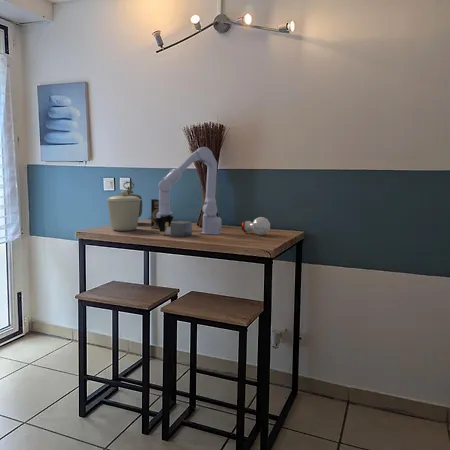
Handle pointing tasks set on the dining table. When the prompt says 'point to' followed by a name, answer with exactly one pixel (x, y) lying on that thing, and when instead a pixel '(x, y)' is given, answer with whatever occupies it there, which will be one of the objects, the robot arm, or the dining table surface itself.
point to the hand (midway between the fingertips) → (164, 230)
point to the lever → (166, 229)
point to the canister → (124, 212)
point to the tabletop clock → (133, 195)
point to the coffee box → (154, 212)
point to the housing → (181, 228)
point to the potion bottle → (257, 226)
